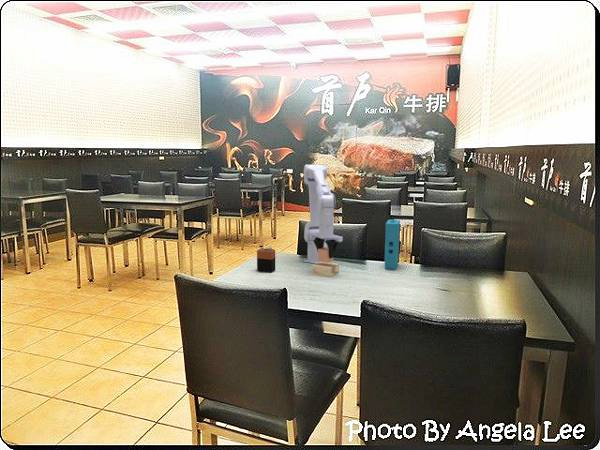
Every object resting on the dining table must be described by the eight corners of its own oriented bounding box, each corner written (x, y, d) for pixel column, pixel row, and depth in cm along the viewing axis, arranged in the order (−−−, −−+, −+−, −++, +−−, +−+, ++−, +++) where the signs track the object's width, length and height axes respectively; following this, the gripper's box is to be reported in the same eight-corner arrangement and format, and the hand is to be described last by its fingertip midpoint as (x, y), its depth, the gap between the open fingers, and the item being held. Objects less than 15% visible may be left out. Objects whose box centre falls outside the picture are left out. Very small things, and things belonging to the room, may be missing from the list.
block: (387, 263, 200) (388, 219, 196) (398, 264, 198) (400, 220, 195) (383, 270, 188) (385, 223, 185) (395, 271, 187) (397, 224, 184)
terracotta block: (324, 258, 185) (324, 247, 184) (333, 260, 182) (333, 248, 182) (317, 260, 181) (318, 249, 181) (327, 262, 179) (327, 250, 178)
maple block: (321, 270, 188) (322, 261, 188) (338, 273, 184) (338, 263, 184) (312, 274, 182) (312, 265, 181) (329, 277, 177) (329, 268, 177)
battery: (271, 273, 183) (271, 249, 182) (256, 271, 186) (256, 248, 184) (275, 270, 187) (275, 247, 186) (261, 268, 190) (261, 246, 188)
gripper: (306, 223, 181) (305, 256, 183) (336, 227, 172) (335, 261, 174) (315, 221, 186) (315, 253, 188) (345, 225, 178) (344, 258, 180)
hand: (325, 257), depth 182 cm, fingers closed on terracotta block, 4 cm apart
